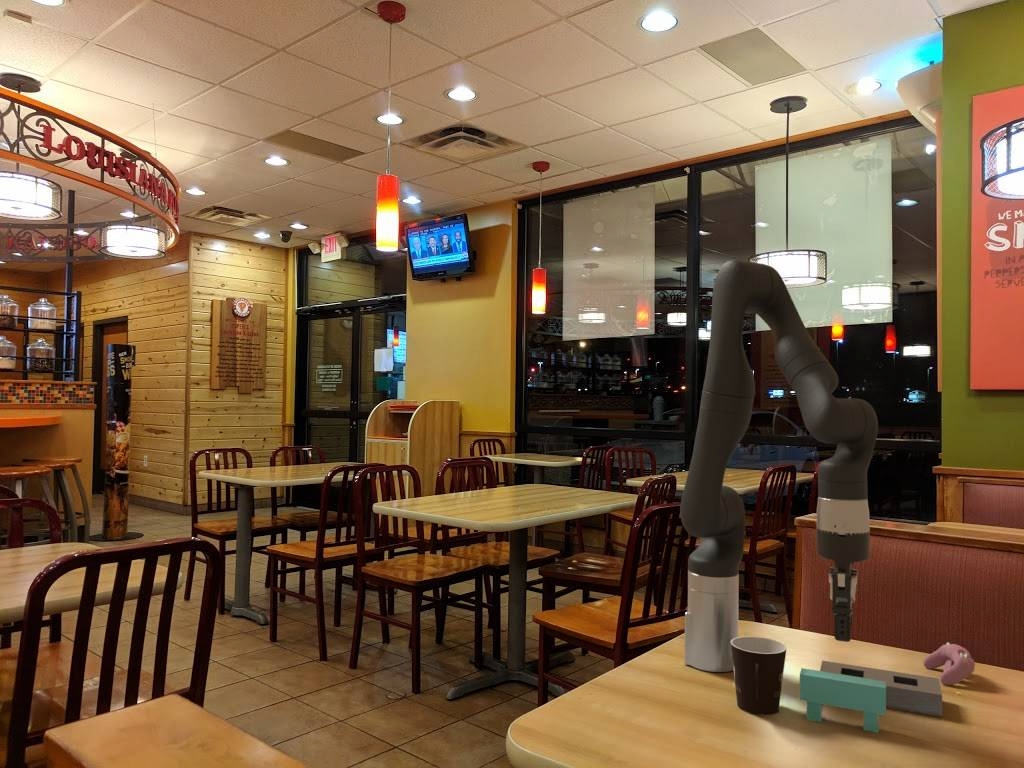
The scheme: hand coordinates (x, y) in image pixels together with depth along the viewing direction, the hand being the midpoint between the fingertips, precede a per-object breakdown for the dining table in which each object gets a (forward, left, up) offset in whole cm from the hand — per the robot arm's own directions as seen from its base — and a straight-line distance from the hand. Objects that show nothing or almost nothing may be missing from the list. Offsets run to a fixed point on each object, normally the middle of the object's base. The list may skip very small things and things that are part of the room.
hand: (843, 632), depth 115 cm
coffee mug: (-13, -1, -14) cm, 19 cm away
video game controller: (+16, +31, -14) cm, 38 cm away
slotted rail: (+5, +14, -14) cm, 20 cm away
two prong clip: (0, 0, -14) cm, 14 cm away
